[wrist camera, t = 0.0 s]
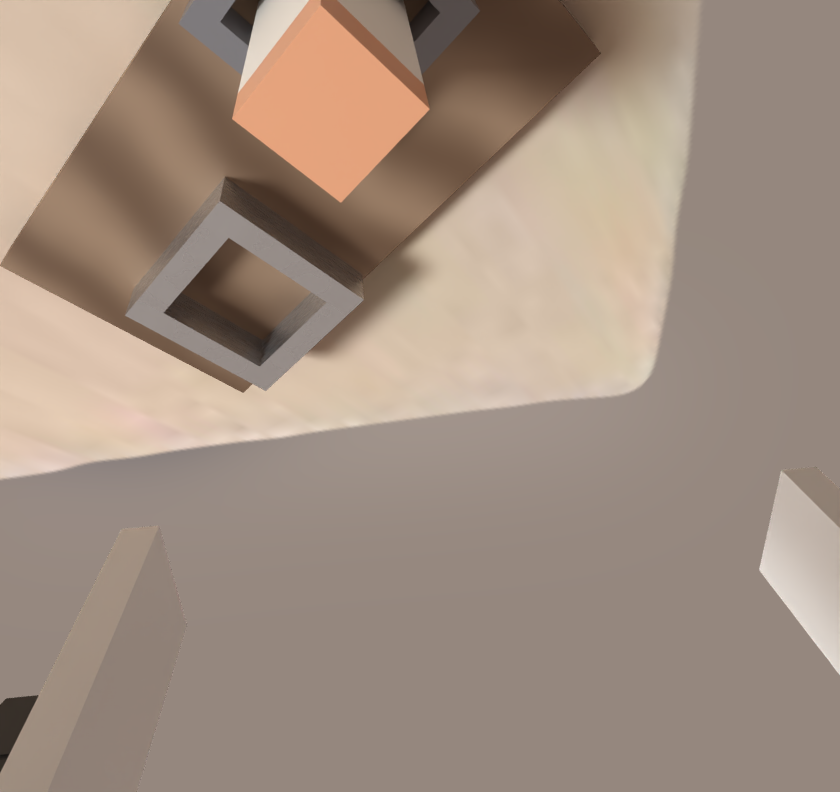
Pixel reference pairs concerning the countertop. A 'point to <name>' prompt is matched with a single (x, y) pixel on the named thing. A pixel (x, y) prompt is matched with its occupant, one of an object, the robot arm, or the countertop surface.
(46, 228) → the walnut board
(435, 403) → the countertop surface
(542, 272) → the countertop surface
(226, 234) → the port
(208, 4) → the frame
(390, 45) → the plug
